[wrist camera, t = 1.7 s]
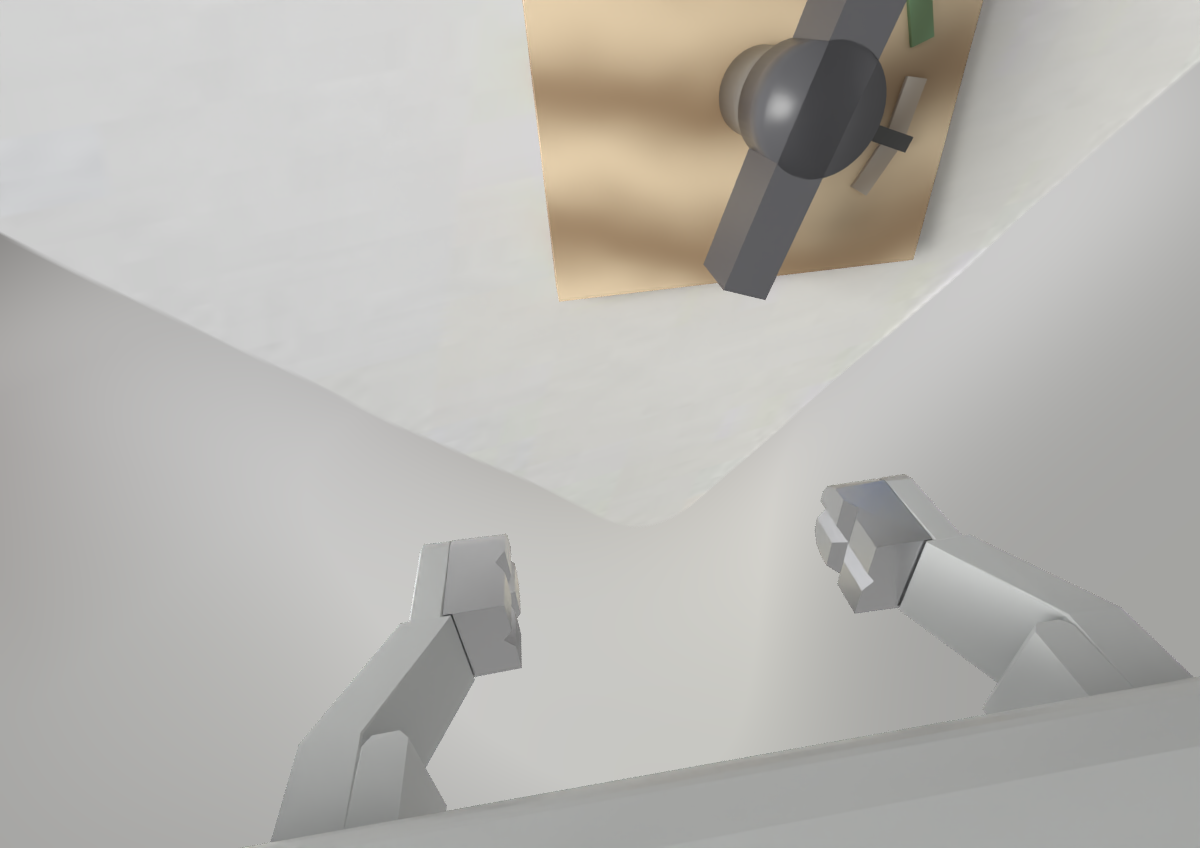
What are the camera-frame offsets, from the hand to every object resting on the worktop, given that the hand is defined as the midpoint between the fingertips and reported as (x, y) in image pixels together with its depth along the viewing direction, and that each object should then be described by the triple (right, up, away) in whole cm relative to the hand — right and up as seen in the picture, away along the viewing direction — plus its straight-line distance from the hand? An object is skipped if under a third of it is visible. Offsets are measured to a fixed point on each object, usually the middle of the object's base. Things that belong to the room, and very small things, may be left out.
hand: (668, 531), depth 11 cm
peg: (+9, +17, +16) cm, 24 cm away
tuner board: (+6, +18, +17) cm, 25 cm away
